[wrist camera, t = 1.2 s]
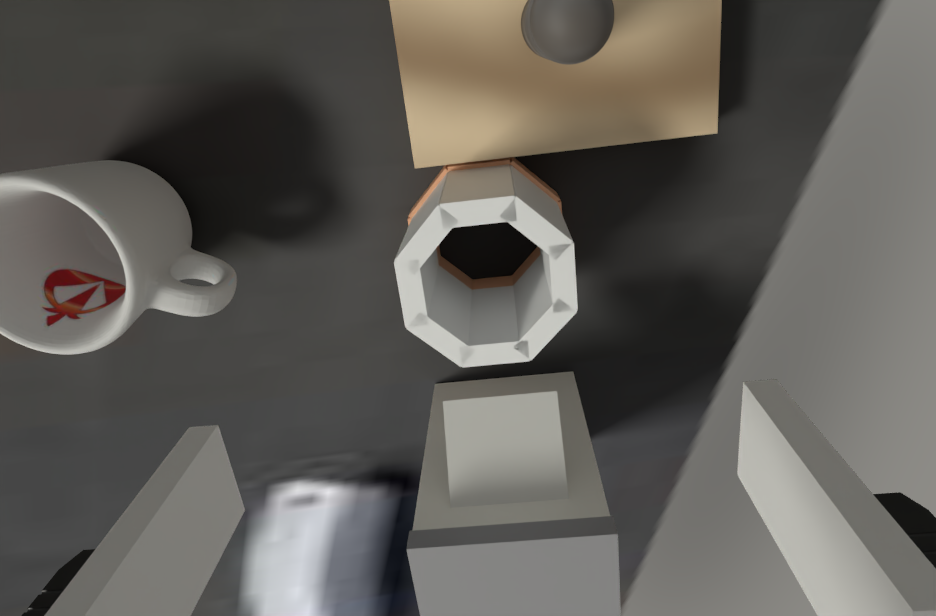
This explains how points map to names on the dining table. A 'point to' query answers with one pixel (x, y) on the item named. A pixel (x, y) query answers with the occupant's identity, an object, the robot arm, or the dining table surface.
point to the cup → (97, 255)
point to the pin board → (554, 74)
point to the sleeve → (497, 298)
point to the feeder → (512, 504)
